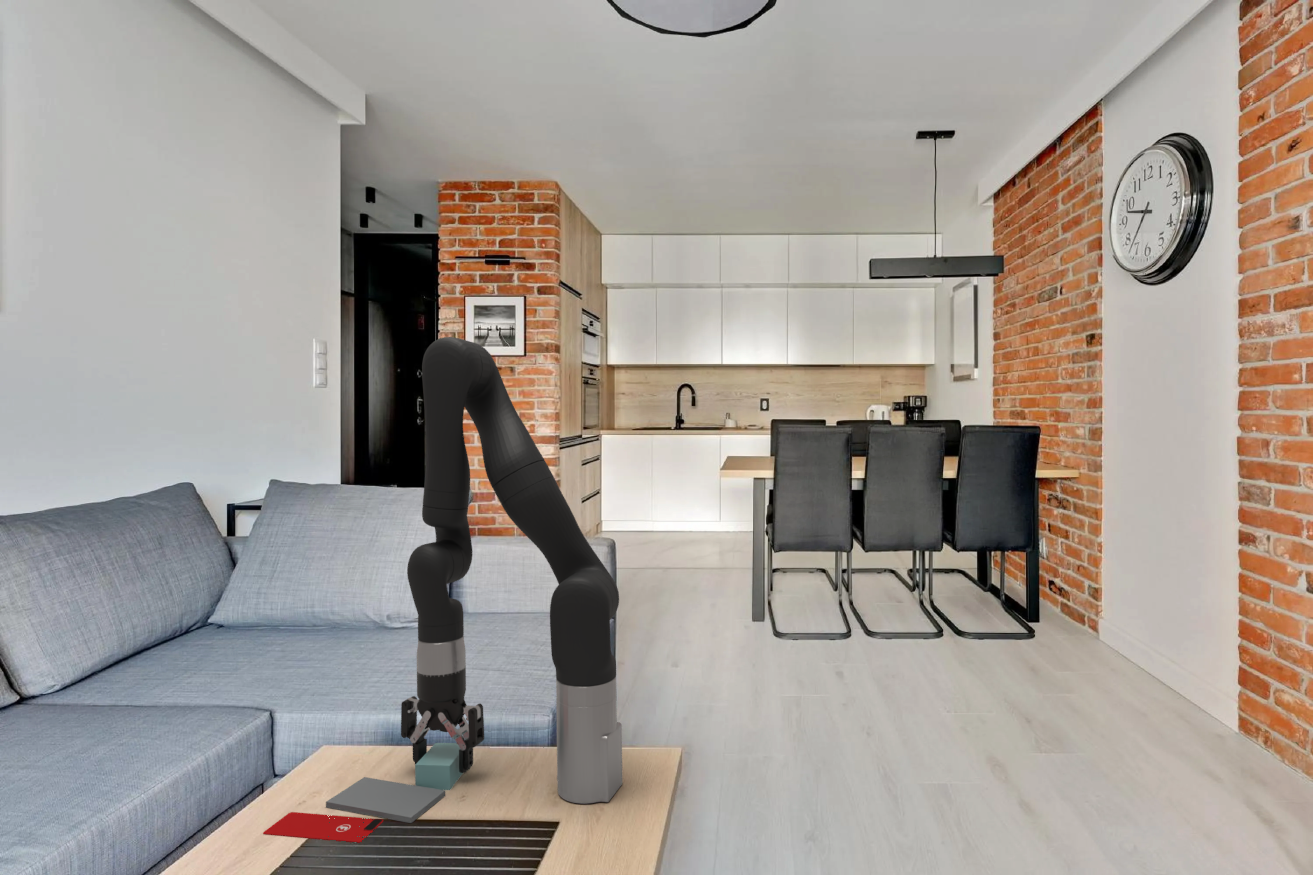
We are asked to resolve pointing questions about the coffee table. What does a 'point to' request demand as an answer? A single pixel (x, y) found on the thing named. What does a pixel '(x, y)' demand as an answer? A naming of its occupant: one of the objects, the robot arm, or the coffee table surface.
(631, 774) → the coffee table surface
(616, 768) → the robot arm
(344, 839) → the electronic device
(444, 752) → the teal rectangular block
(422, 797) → the mat
